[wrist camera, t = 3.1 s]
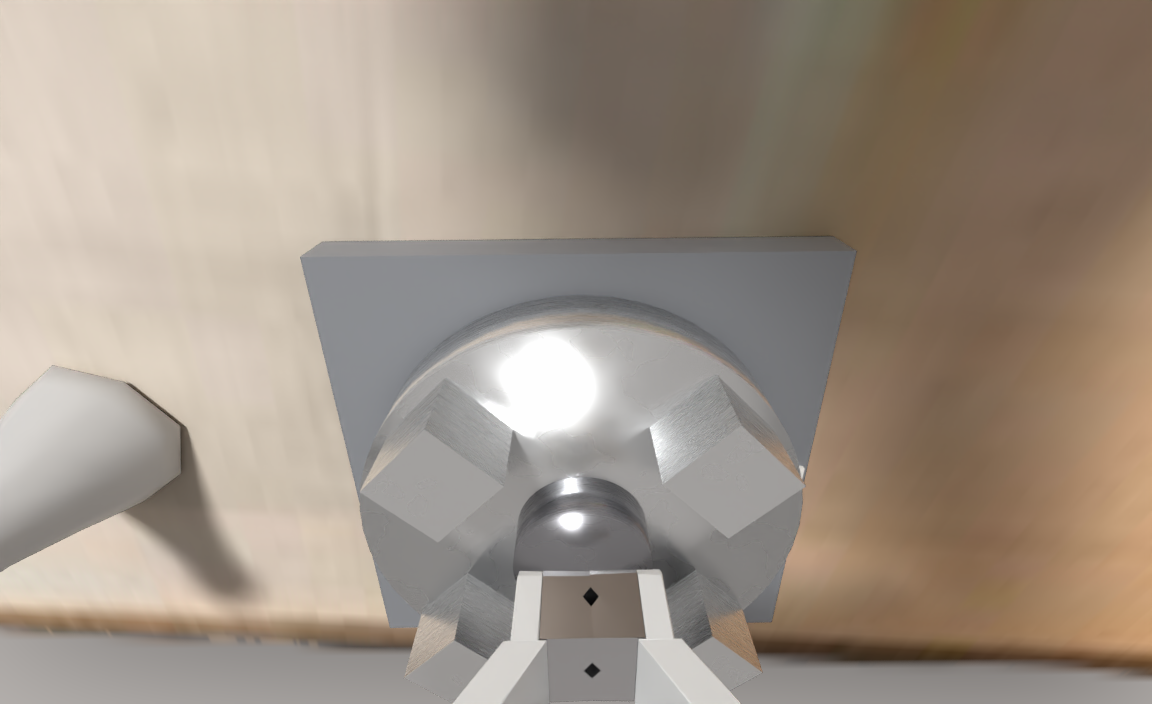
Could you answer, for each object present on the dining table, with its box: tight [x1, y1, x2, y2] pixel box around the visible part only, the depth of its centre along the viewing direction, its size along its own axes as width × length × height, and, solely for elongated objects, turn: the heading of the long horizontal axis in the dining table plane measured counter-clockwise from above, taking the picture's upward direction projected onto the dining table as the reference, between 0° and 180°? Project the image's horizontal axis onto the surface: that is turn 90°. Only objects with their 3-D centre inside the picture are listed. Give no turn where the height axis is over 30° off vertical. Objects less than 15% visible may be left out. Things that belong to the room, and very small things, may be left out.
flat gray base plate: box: [300, 236, 857, 628], centre depth 25 cm, size 20×20×2 cm
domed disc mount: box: [360, 295, 806, 704], centre depth 21 cm, size 17×17×6 cm
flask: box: [0, 365, 181, 572], centre depth 21 cm, size 7×7×10 cm
